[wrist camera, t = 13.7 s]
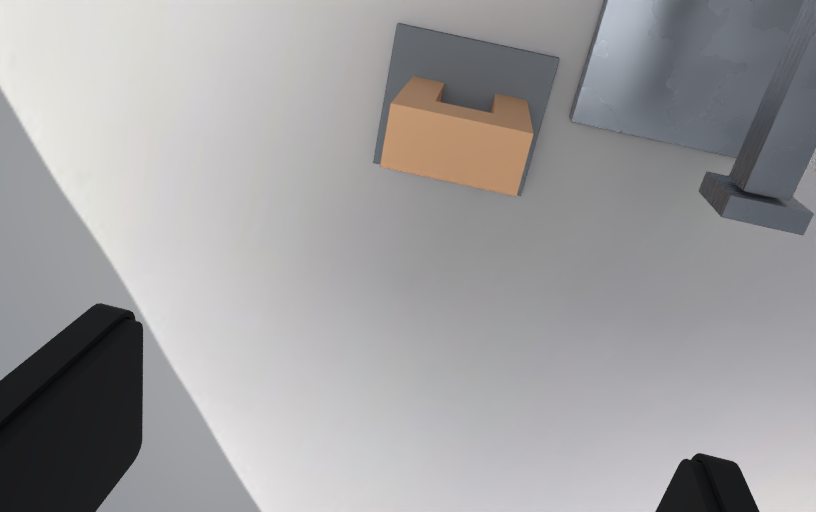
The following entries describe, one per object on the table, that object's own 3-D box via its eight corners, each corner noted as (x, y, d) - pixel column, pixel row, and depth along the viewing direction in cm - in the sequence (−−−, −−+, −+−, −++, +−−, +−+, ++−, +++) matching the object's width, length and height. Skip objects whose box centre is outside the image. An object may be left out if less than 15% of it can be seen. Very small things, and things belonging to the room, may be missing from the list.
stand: (847, -83, 31) (1136, -126, 17) (744, 155, 36) (900, 274, 22) (641, -125, 31) (756, -200, 17) (569, 117, 36) (611, 209, 22)
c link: (527, 100, 35) (533, 133, 28) (513, 151, 37) (516, 196, 30) (412, 76, 36) (390, 103, 29) (403, 128, 37) (379, 166, 30)
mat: (558, 57, 35) (559, 58, 34) (520, 192, 38) (520, 196, 38) (398, 22, 35) (397, 23, 35) (374, 160, 39) (373, 162, 38)
